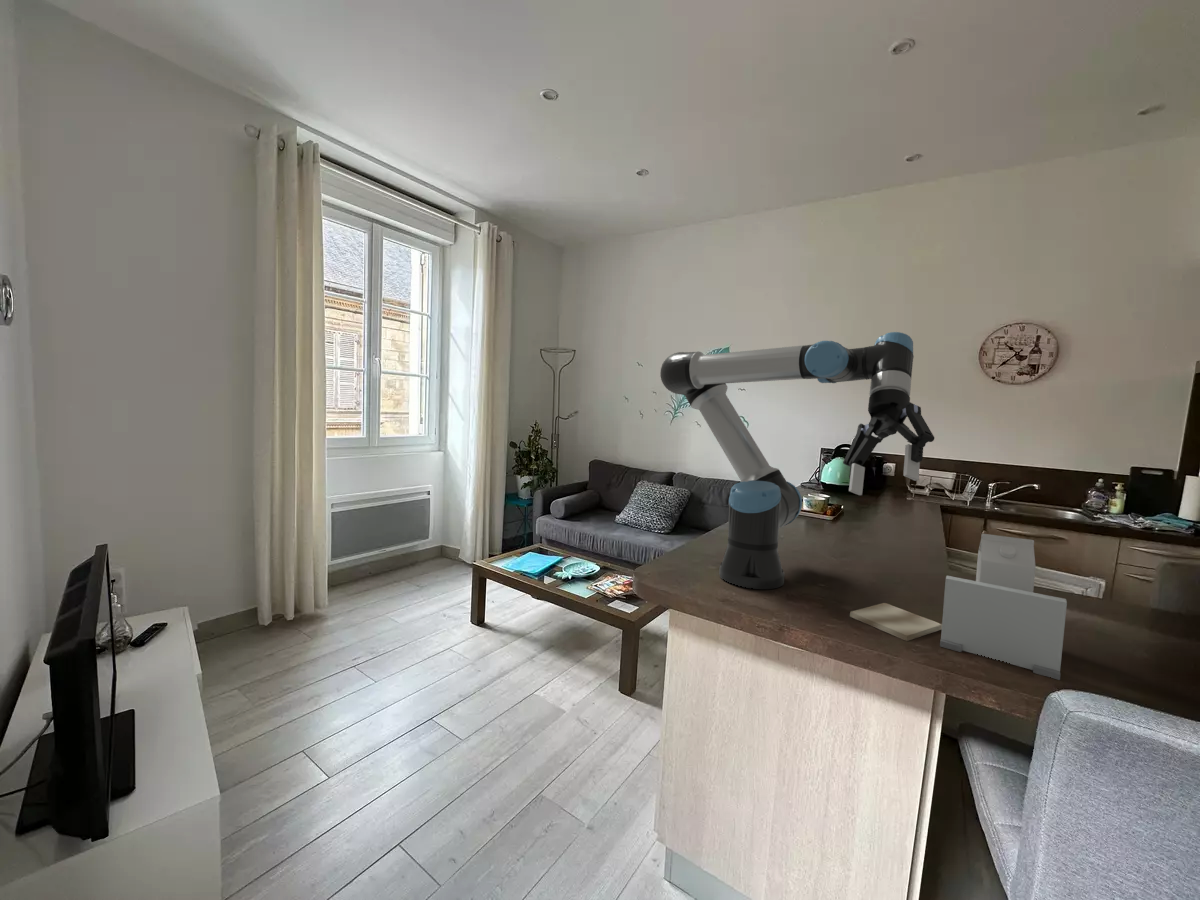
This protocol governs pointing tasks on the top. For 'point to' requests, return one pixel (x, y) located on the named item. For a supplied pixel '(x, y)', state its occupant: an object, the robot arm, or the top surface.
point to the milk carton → (1006, 562)
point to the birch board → (896, 621)
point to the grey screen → (1004, 624)
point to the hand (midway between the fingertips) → (881, 486)
